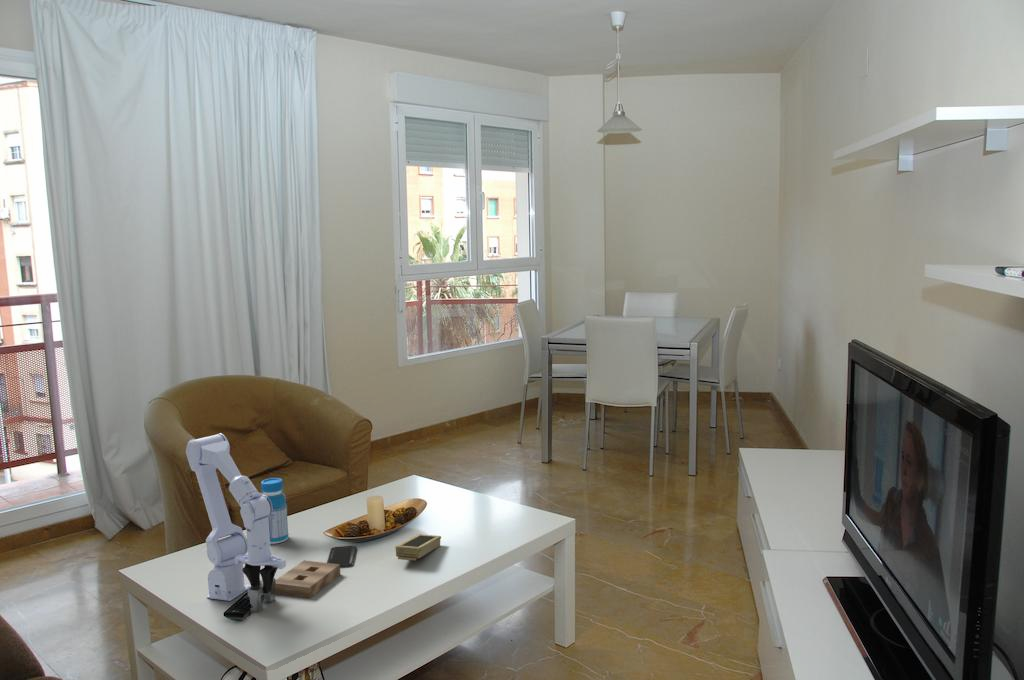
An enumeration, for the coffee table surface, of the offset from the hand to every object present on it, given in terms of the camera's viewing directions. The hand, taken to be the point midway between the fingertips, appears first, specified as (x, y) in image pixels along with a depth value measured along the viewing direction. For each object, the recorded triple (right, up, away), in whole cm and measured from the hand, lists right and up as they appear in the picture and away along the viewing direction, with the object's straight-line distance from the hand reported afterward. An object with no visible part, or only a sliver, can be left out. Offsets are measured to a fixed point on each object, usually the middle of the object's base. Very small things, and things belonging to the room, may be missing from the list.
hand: (262, 591), depth 211 cm
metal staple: (0, -4, +1) cm, 4 cm away
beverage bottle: (-11, +1, +48) cm, 49 cm away
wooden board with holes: (+9, -2, +13) cm, 16 cm away
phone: (+14, 0, +31) cm, 35 cm away
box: (+39, +1, +33) cm, 51 cm away
